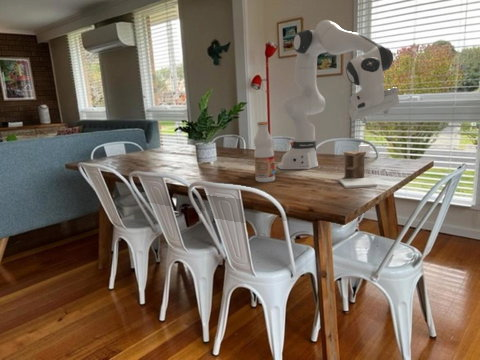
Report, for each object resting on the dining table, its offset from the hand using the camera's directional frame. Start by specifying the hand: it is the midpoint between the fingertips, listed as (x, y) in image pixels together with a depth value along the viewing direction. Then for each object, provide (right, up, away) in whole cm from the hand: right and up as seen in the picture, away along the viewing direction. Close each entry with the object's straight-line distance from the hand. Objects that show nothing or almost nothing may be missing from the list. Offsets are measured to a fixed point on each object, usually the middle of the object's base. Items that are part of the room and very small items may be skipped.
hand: (374, 118), depth 160 cm
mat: (-8, -29, 0) cm, 30 cm away
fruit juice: (-47, -27, +17) cm, 57 cm away
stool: (-5, -25, +13) cm, 29 cm away
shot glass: (+17, -13, +62) cm, 65 cm away
